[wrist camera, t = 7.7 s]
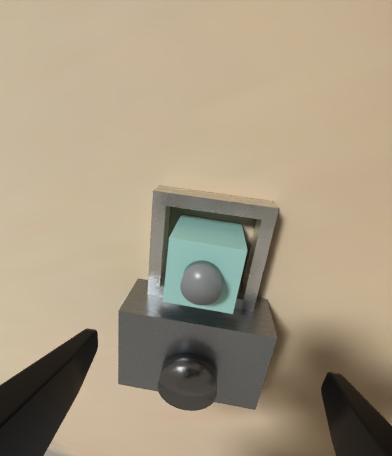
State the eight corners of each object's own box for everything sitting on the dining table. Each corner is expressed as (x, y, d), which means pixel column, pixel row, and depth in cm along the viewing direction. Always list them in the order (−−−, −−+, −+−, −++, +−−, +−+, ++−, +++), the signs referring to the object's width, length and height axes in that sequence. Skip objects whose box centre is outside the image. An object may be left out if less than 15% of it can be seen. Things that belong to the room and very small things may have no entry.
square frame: (293, 204, 19) (322, 231, 13) (249, 363, 25) (257, 428, 19) (141, 182, 19) (109, 200, 14) (135, 343, 25) (111, 400, 20)
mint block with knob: (241, 223, 20) (249, 259, 14) (230, 275, 22) (233, 326, 16) (181, 214, 20) (164, 245, 14) (175, 266, 22) (158, 313, 16)
